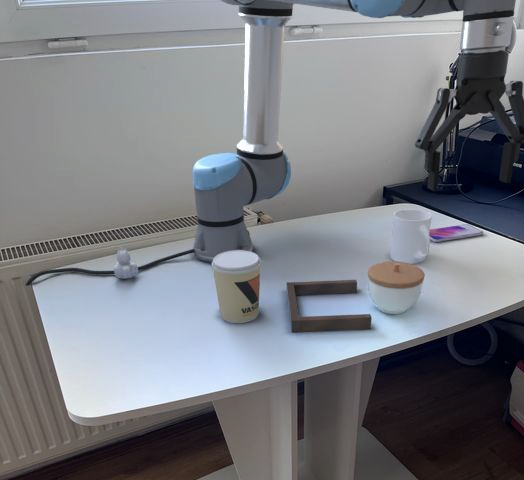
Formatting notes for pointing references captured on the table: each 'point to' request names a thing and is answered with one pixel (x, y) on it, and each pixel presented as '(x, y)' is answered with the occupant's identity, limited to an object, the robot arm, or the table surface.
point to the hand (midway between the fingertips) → (468, 185)
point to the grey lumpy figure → (124, 265)
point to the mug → (410, 236)
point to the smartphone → (454, 232)
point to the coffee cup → (237, 285)
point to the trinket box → (394, 286)
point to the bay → (324, 321)
